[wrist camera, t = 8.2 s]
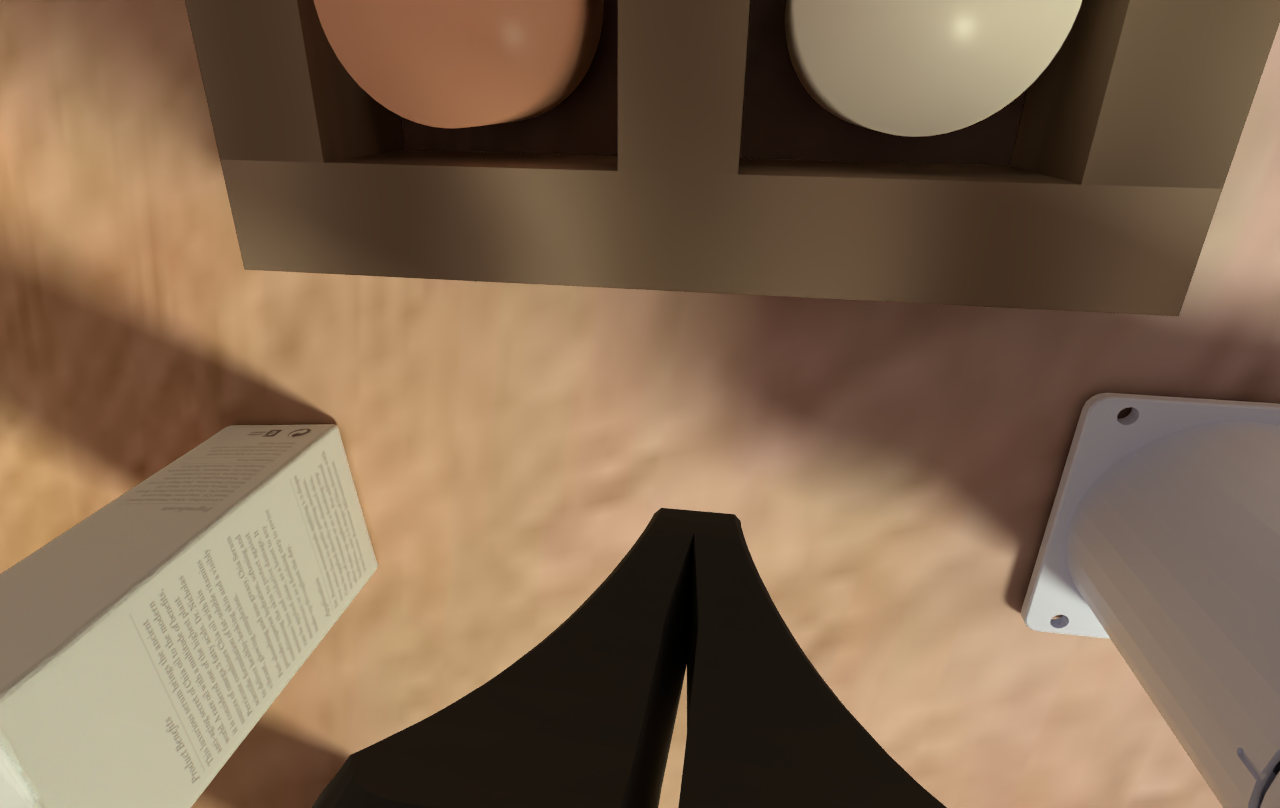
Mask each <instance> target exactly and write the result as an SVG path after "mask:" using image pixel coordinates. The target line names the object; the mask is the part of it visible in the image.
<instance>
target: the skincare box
mask: <svg viewBox="0 0 1280 808" xmlns="http://www.w3.org/2000/svg"><path fill="white" fill-rule="evenodd" d="M377 568H378V564H377V561H376V558H375V554H374V551H373V548H372V544H371V541H370V537H369V534H368V530H367V527H366V523H365V520H364V516H363V513H362V509H361V506H360V503H359V499H358V496H357V492H356V489H355V485H354V482H353V478H352V474H351V471H350V468H349V464H348V460H347V457H346V453H345V450H344V447H343V443H342V440H341V436H340V432H339V428H338V426H337V425H335V424H307V425H232V426H228V427H225V428H224V429H222V430H221V431H219V432H218V433H216V434H215V435H213V436H212V437H210V438H209V439H207V440H206V441H204V442H203V443H201V444H199V445H198V446H196V447H195V448H193V449H192V450H190V451H189V452H187V453H186V454H184V455H182V456H181V457H179V458H178V459H176V460H175V461H173V462H172V463H170V464H169V465H167V466H165V467H164V468H162V469H161V470H159V471H158V472H156V473H155V474H153V475H152V476H150V477H149V478H147V479H146V480H144V481H142V482H141V483H139V484H138V485H136V486H135V487H133V488H132V489H130V490H129V491H127V492H126V493H124V494H123V495H121V496H120V497H118V498H117V499H115V500H114V501H112V502H110V503H109V504H107V505H106V506H104V507H103V508H101V509H100V510H98V511H97V512H95V513H94V514H92V515H91V516H89V517H87V518H86V519H84V520H83V521H81V522H80V523H78V524H77V525H75V526H74V527H72V528H71V529H69V530H67V531H66V532H64V533H63V534H61V535H60V536H58V537H57V538H55V539H54V540H52V541H51V542H49V543H48V544H46V545H45V546H43V547H41V548H40V549H38V550H37V551H35V552H34V553H32V554H31V555H29V556H28V557H26V558H25V559H23V560H22V561H20V562H18V563H17V564H15V565H14V566H12V567H11V568H9V569H8V570H6V571H4V572H3V573H1V574H0V808H191V807H192V806H193V804H194V803H195V802H196V800H197V799H198V798H199V797H200V795H201V794H202V793H203V792H204V790H205V789H206V788H207V786H208V785H209V784H210V783H211V781H212V780H213V779H214V777H215V776H216V775H217V774H218V772H219V771H220V770H221V768H222V767H223V766H224V765H225V763H226V762H227V761H228V759H229V758H230V757H231V756H232V754H233V753H234V752H235V750H236V749H237V748H238V746H239V745H240V744H241V743H242V741H243V740H244V739H245V737H246V736H247V735H248V734H249V732H250V731H251V730H252V729H253V728H254V726H255V725H256V724H257V722H258V721H259V720H260V719H261V717H262V716H263V715H264V713H265V712H266V711H267V710H268V708H269V707H270V706H271V704H272V703H273V702H274V700H275V699H276V698H277V697H278V695H279V694H280V693H281V691H282V690H283V689H284V688H285V686H286V685H287V684H288V683H289V681H290V680H291V679H292V677H293V676H294V675H295V674H296V672H297V671H298V670H299V668H300V667H301V666H302V665H303V663H304V662H305V661H306V660H307V658H308V657H309V656H310V654H311V653H312V652H313V651H314V649H315V648H316V647H317V645H318V644H319V643H320V642H321V640H322V639H323V638H324V636H325V635H326V634H327V633H328V631H329V630H330V629H331V627H332V626H333V625H334V624H335V622H336V621H337V620H338V619H339V617H340V616H341V615H342V613H343V612H344V611H345V610H346V608H347V607H348V606H349V605H350V603H351V602H352V601H353V599H354V598H355V597H356V596H357V594H358V593H359V592H360V590H361V589H362V588H363V587H364V585H365V584H366V583H367V581H368V580H369V579H370V577H371V576H372V575H373V574H374V572H375V571H376V569H377Z"/></svg>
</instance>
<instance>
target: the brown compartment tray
mask: <svg viewBox="0 0 1280 808" xmlns="http://www.w3.org/2000/svg"><path fill="white" fill-rule="evenodd" d="M185 3H186V8H187V12H188V17H189V21H190V26H191V30H192V35H193V39H194V44H195V48H196V53H197V57H198V62H199V66H200V71H201V75H202V80H203V84H204V89H205V93H206V98H207V102H208V107H209V111H210V116H211V121H212V125H213V130H214V134H215V139H216V143H217V148H218V152H219V157H220V161H221V166H222V170H223V175H224V179H225V184H226V188H227V193H228V197H229V202H230V206H231V211H232V215H233V220H234V224H235V229H236V233H237V238H238V242H239V247H240V251H241V256H242V260H243V265H244V269H245V270H265V271H285V272H305V273H325V274H345V275H365V276H385V277H405V278H425V279H445V280H465V281H485V282H505V283H525V284H545V285H565V286H585V287H605V288H625V289H645V290H665V291H685V292H705V293H725V294H745V295H765V296H785V297H805V298H825V299H845V300H865V301H885V302H905V303H925V304H945V305H965V306H985V307H1005V308H1025V309H1045V310H1065V311H1085V312H1105V313H1125V314H1146V315H1166V316H1179V314H1180V311H1181V308H1182V305H1183V302H1184V299H1185V296H1186V293H1187V290H1188V287H1189V285H1190V282H1191V279H1192V276H1193V273H1194V270H1195V267H1196V264H1197V261H1198V258H1199V255H1200V253H1201V250H1202V247H1203V244H1204V241H1205V238H1206V235H1207V232H1208V229H1209V226H1210V223H1211V221H1212V218H1213V215H1214V212H1215V209H1216V206H1217V203H1218V200H1219V197H1220V194H1221V192H1222V189H1223V186H1224V183H1225V180H1226V177H1227V174H1228V171H1229V168H1230V165H1231V162H1232V160H1233V157H1234V154H1235V151H1236V148H1237V145H1238V142H1239V139H1240V136H1241V133H1242V130H1243V128H1244V125H1245V122H1246V119H1247V116H1248V113H1249V110H1250V107H1251V104H1252V101H1253V99H1254V96H1255V93H1256V90H1257V87H1258V84H1259V81H1260V78H1261V75H1262V72H1263V69H1264V67H1265V64H1266V61H1267V58H1268V55H1269V52H1270V49H1271V46H1272V43H1273V40H1274V37H1275V35H1276V32H1277V29H1278V26H1279V23H1280V0H1082V3H1081V6H1080V9H1079V12H1078V14H1077V16H1076V19H1075V21H1074V23H1073V26H1072V28H1071V30H1070V32H1069V34H1068V35H1067V37H1066V39H1065V41H1064V43H1063V44H1062V46H1061V48H1060V49H1059V51H1058V52H1057V54H1056V55H1055V57H1054V58H1053V59H1052V61H1051V62H1050V64H1049V65H1048V66H1047V68H1046V69H1045V70H1044V71H1043V72H1042V73H1041V74H1040V76H1039V77H1038V78H1037V79H1036V80H1035V81H1034V82H1033V83H1032V84H1031V85H1030V86H1029V87H1028V88H1027V93H1026V97H1025V102H1024V106H1023V111H1022V115H1021V120H1020V124H1019V129H1018V133H1017V138H1016V142H1015V147H1014V152H1013V156H1012V161H1011V165H1010V166H1008V165H970V164H932V163H894V162H856V161H818V160H779V159H741V158H740V148H741V134H742V119H743V105H744V90H745V76H746V61H747V46H748V32H749V17H750V3H751V0H618V155H589V154H550V153H512V152H474V151H436V150H404V141H403V133H402V124H401V116H399V115H398V114H396V113H394V112H392V111H390V110H388V109H387V108H385V107H384V106H383V105H381V104H380V103H379V102H377V101H376V100H374V99H373V98H372V97H371V96H370V95H369V94H368V93H367V92H365V91H364V90H363V89H362V88H361V87H360V86H359V85H358V84H357V82H356V81H355V80H354V79H353V78H352V77H351V76H350V74H349V73H348V72H347V70H346V69H345V68H344V66H343V65H342V63H341V62H340V61H339V59H338V58H337V56H336V54H335V52H334V51H333V49H332V47H331V45H330V43H329V42H328V39H327V37H326V35H325V32H324V30H323V28H322V25H321V23H320V20H319V17H318V14H317V11H316V7H315V4H314V0H185Z"/></svg>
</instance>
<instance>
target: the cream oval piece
mask: <svg viewBox="0 0 1280 808" xmlns="http://www.w3.org/2000/svg"><path fill="white" fill-rule="evenodd" d="M1081 3H1082V0H786V7H785V33H786V42H787V47H788V52H789V56H790V59H791V62H792V64H793V67H794V70H795V72H796V74H797V76H798V78H799V80H800V82H801V83H802V85H803V86H804V88H805V89H806V90H807V92H808V93H809V95H810V96H811V97H812V98H813V99H814V100H815V101H816V102H817V103H818V104H819V105H820V106H822V107H823V108H824V109H825V110H827V111H828V112H829V113H831V114H833V115H834V116H836V117H838V118H839V119H841V120H844V121H846V122H849V123H851V124H854V125H858V126H861V127H865V128H868V129H872V130H876V131H879V132H884V133H888V134H892V135H898V136H909V137H919V136H933V135H939V134H944V133H949V132H953V131H956V130H959V129H962V128H966V127H968V126H970V125H973V124H975V123H977V122H979V121H982V120H984V119H986V118H987V117H989V116H991V115H992V114H994V113H996V112H998V111H999V110H1001V109H1002V108H1004V107H1005V106H1006V105H1008V104H1009V103H1010V102H1012V101H1013V100H1014V99H1016V98H1017V97H1018V96H1019V95H1021V94H1022V93H1023V92H1024V91H1025V90H1026V89H1027V88H1028V87H1029V86H1030V85H1031V84H1032V83H1033V82H1034V81H1035V80H1036V79H1037V78H1038V77H1039V76H1040V74H1041V73H1042V72H1043V71H1044V70H1045V69H1046V68H1047V66H1048V65H1049V64H1050V62H1051V61H1052V59H1053V58H1054V57H1055V55H1056V54H1057V52H1058V51H1059V49H1060V48H1061V46H1062V44H1063V43H1064V41H1065V39H1066V37H1067V35H1068V34H1069V32H1070V30H1071V28H1072V26H1073V23H1074V21H1075V19H1076V16H1077V14H1078V12H1079V9H1080V6H1081Z"/></svg>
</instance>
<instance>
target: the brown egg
mask: <svg viewBox="0 0 1280 808" xmlns="http://www.w3.org/2000/svg"><path fill="white" fill-rule="evenodd" d="M314 4H315V7H316V11H317V14H318V17H319V20H320V23H321V25H322V28H323V30H324V32H325V35H326V37H327V39H328V42H329V43H330V45H331V47H332V49H333V51H334V52H335V54H336V56H337V58H338V59H339V61H340V62H341V63H342V65H343V66H344V68H345V69H346V70H347V72H348V73H349V74H350V76H351V77H352V78H353V79H354V80H355V81H356V82H357V84H358V85H359V86H360V87H361V88H362V89H363V90H364V91H365V92H367V93H368V94H369V95H370V96H371V97H372V98H373V99H374V100H376V101H377V102H379V103H380V104H381V105H383V106H384V107H385V108H387V109H388V110H390V111H392V112H394V113H396V114H398V115H399V116H401V117H403V118H406V119H408V120H411V121H413V122H416V123H419V124H423V125H427V126H432V127H439V128H466V127H474V126H483V125H492V124H500V123H509V122H517V121H522V120H527V119H531V118H534V117H536V116H539V115H542V114H544V113H546V112H547V111H549V110H551V109H553V108H554V107H556V106H557V105H558V104H560V103H561V102H562V101H564V100H565V99H566V98H567V97H568V96H569V95H570V94H571V93H572V92H573V91H574V90H575V88H576V87H577V86H578V85H579V83H580V82H581V81H582V79H583V78H584V76H585V74H586V72H587V71H588V69H589V67H590V65H591V63H592V60H593V58H594V56H595V53H596V50H597V46H598V43H599V39H600V35H601V29H602V22H603V0H314Z"/></svg>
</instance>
